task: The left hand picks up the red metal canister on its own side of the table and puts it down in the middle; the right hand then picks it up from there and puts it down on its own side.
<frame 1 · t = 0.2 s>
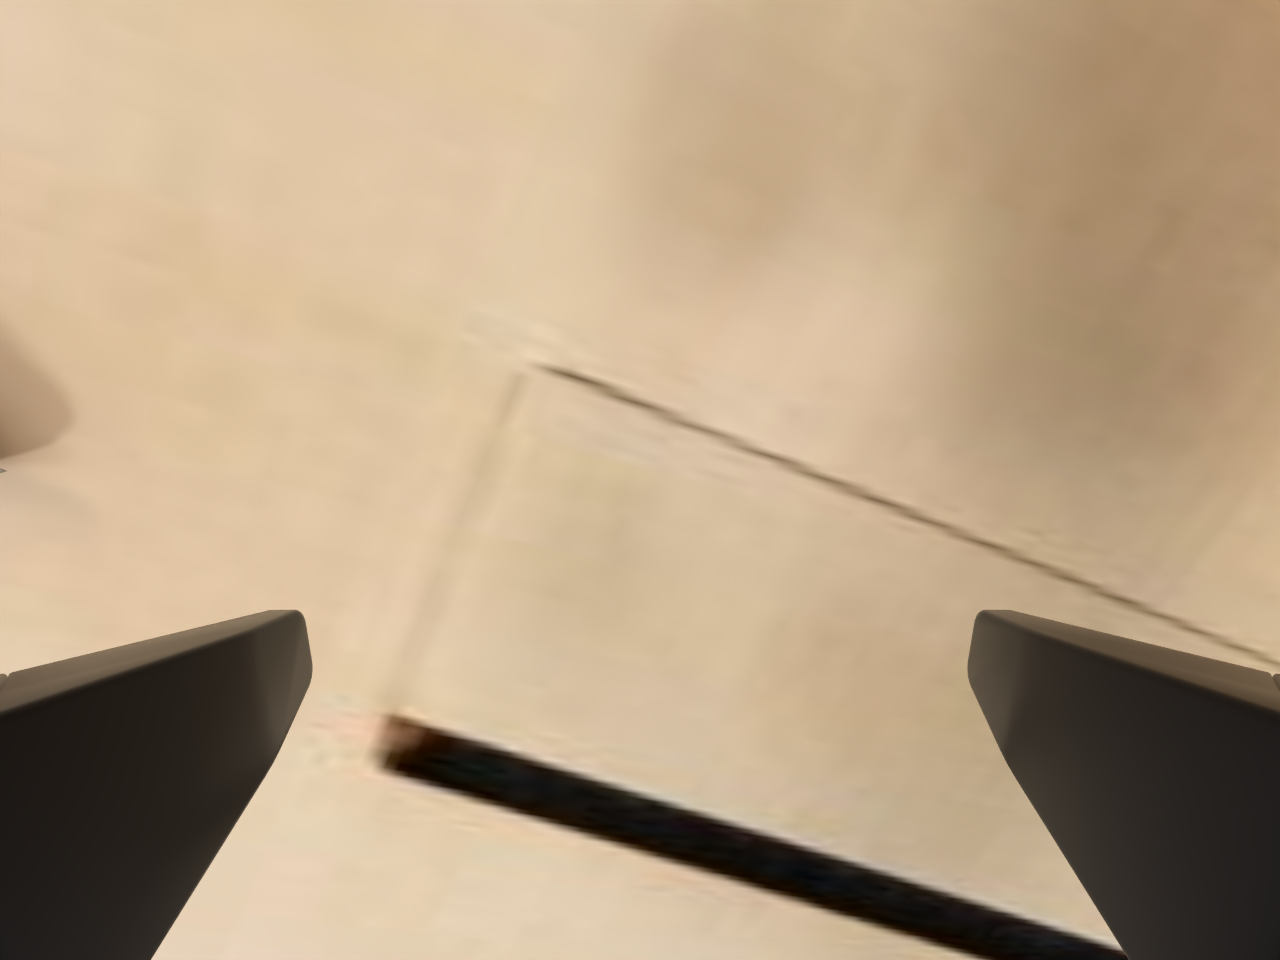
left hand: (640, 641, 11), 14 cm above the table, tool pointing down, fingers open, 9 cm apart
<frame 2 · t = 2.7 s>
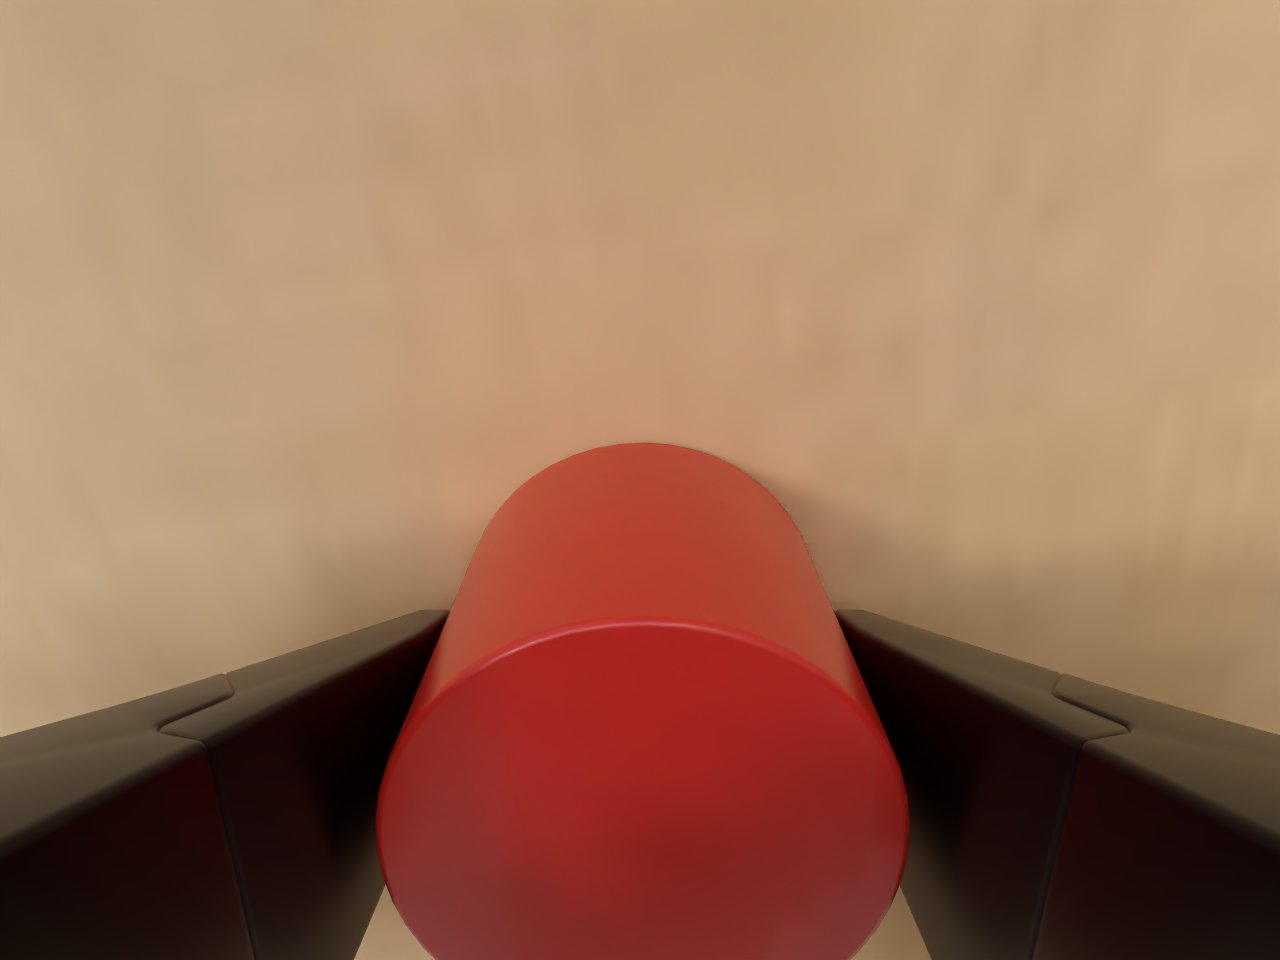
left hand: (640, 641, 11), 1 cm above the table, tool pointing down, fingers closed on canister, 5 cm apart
canister: (641, 604, 12), on the table, touching left hand
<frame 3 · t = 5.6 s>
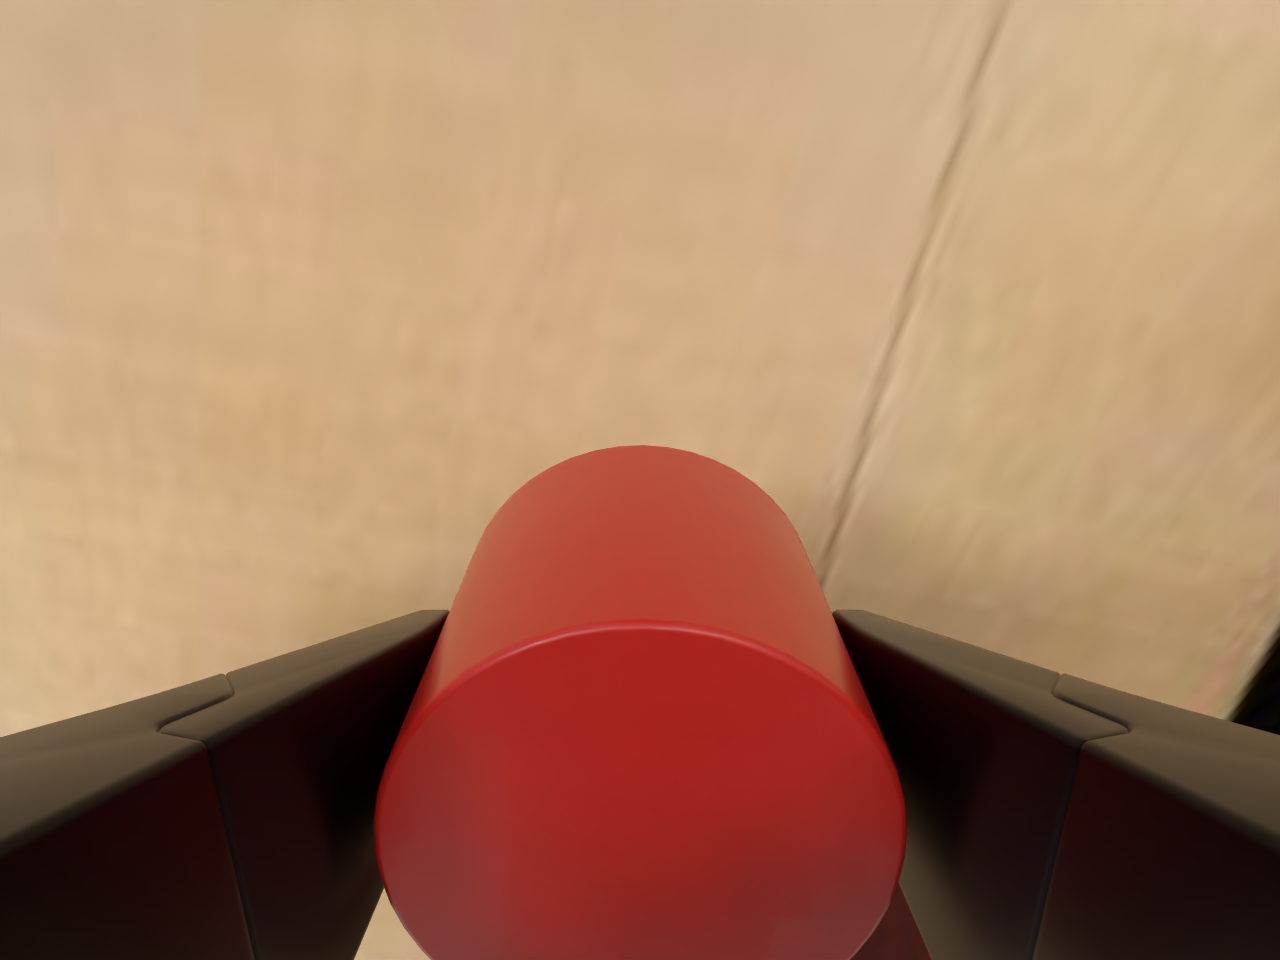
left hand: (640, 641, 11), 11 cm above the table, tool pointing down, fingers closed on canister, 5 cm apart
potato: (836, 894, 27), on the table
canister: (640, 606, 12), point 10 cm above the table, touching left hand
when the left hand's fingers open (2 cm above the table, at t = 8.6 s): canister stays where it is, on the table.
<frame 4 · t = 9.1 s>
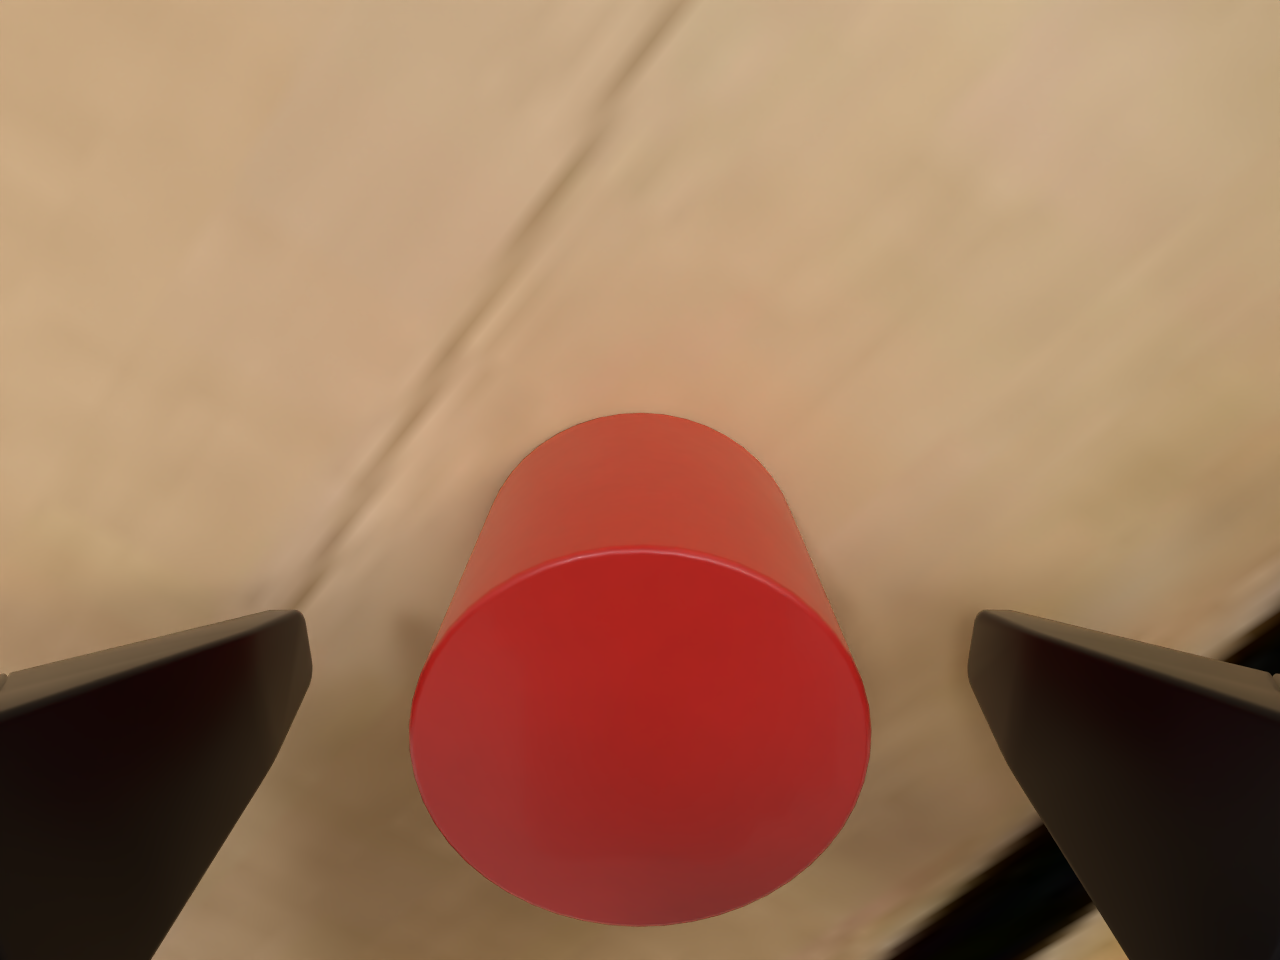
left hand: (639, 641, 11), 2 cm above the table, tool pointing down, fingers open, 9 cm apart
canister: (640, 562, 13), on the table
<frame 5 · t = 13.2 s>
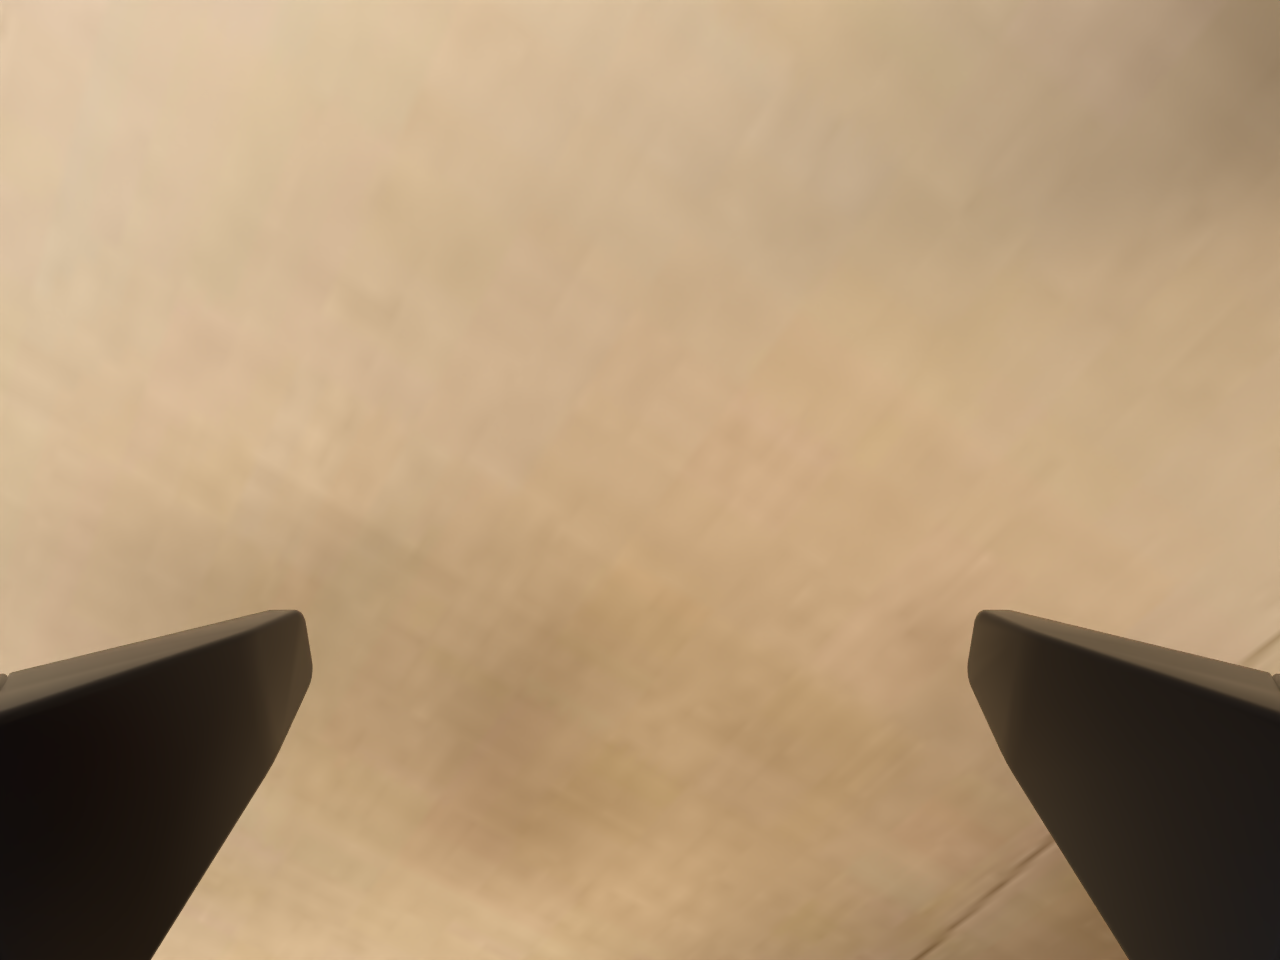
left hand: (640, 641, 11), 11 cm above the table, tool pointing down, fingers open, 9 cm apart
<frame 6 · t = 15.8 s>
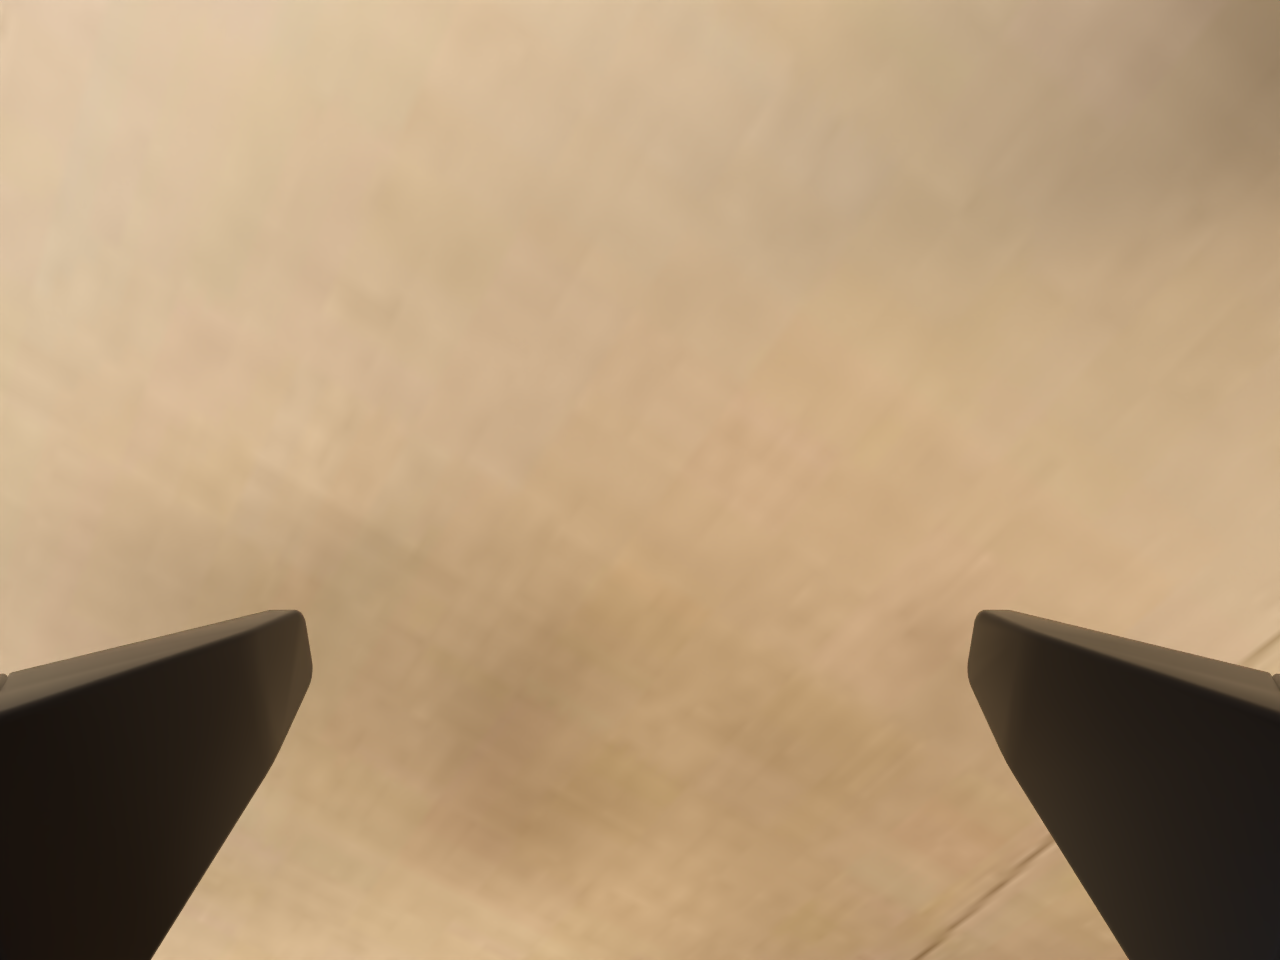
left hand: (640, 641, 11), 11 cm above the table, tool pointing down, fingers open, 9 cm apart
when the right hand's fingers open (2 cm above the table, at t = 18.4 s): canister stays where it is, on the table.
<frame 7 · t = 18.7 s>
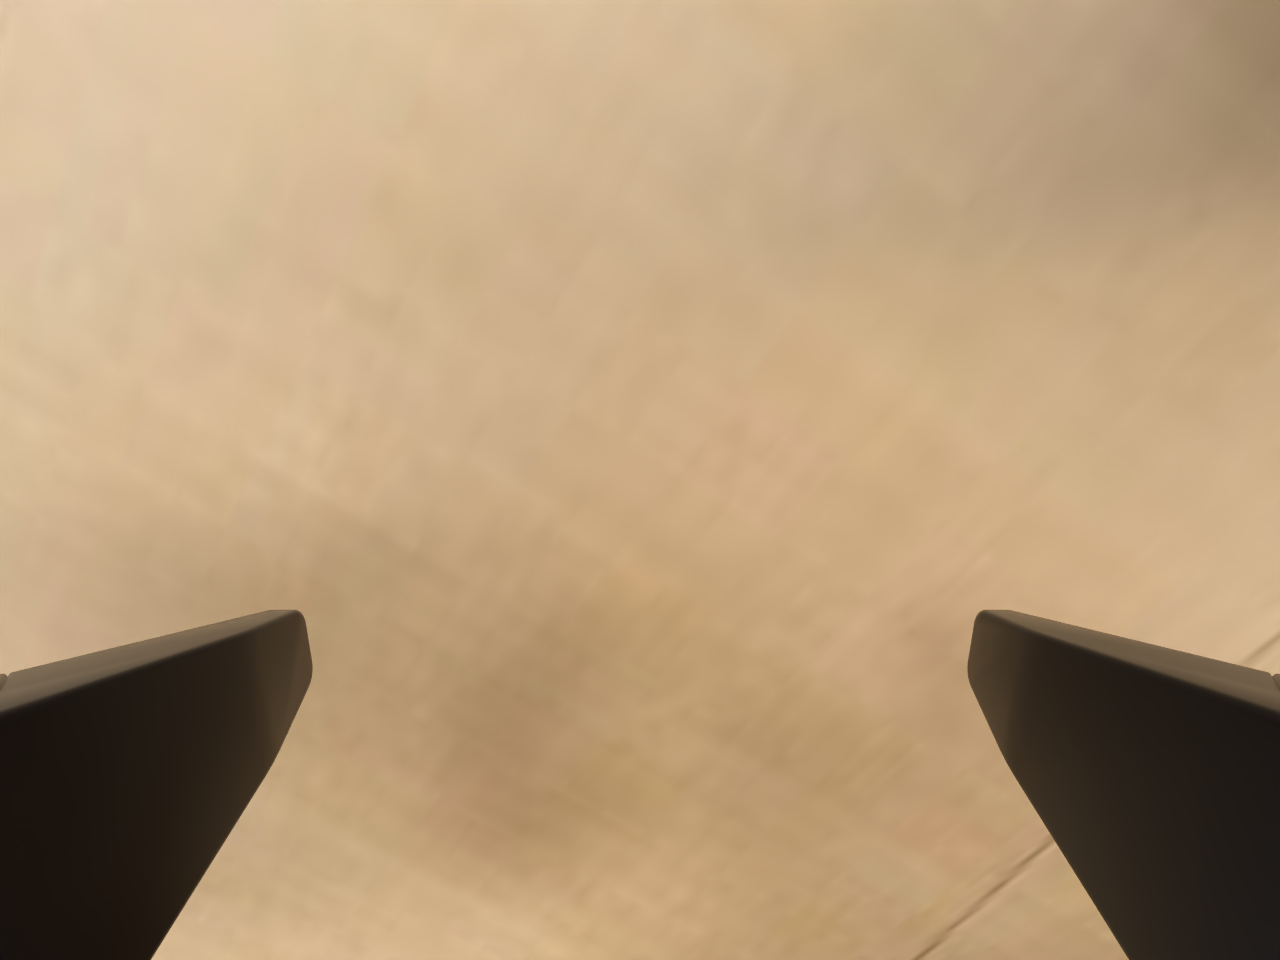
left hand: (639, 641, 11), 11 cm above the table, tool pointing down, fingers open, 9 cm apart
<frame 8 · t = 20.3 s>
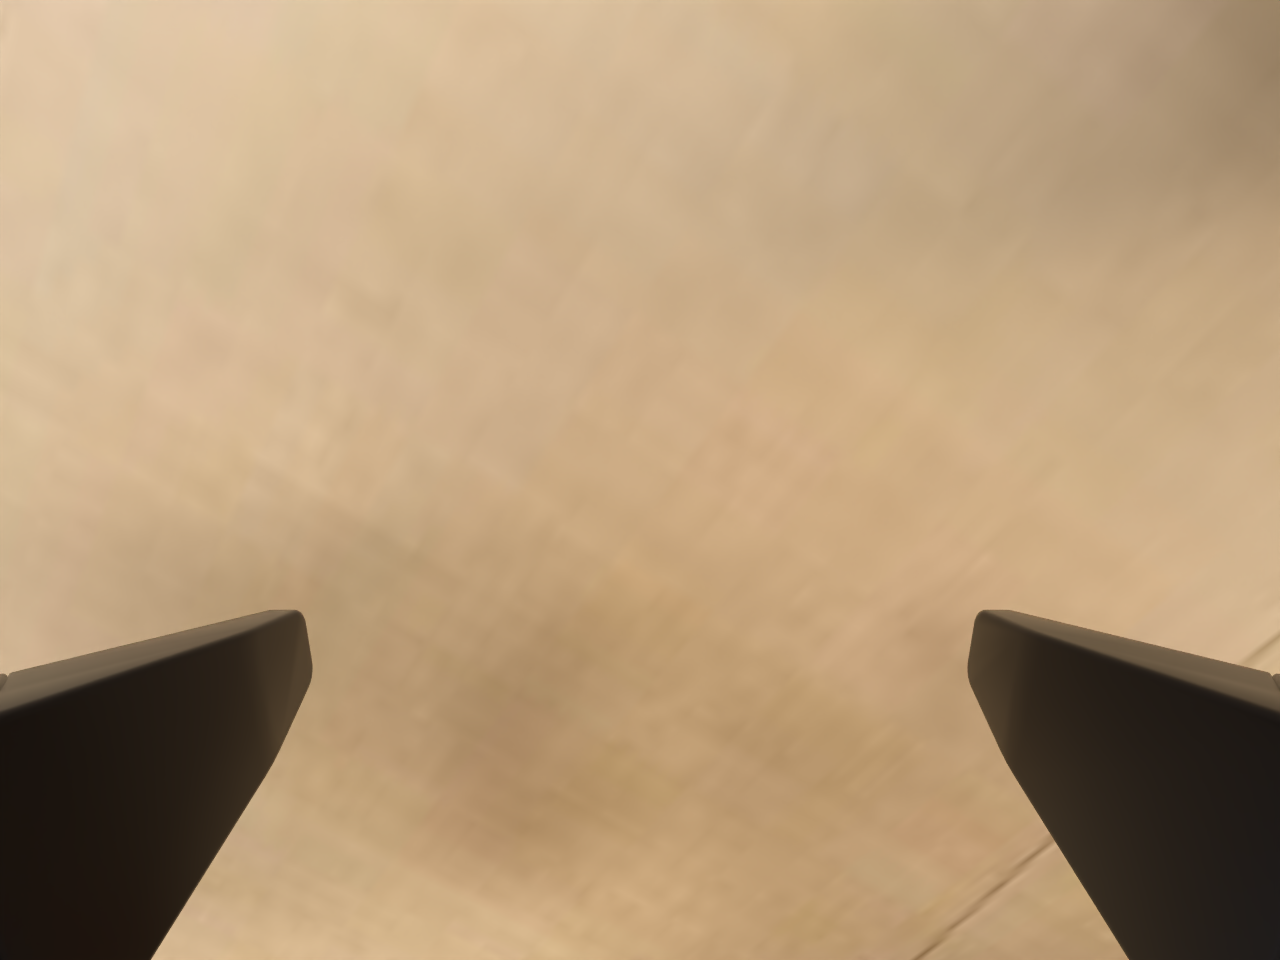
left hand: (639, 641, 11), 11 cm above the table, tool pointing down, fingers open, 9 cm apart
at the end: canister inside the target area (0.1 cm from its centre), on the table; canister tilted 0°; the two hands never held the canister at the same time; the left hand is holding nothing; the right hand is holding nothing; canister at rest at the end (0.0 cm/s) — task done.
